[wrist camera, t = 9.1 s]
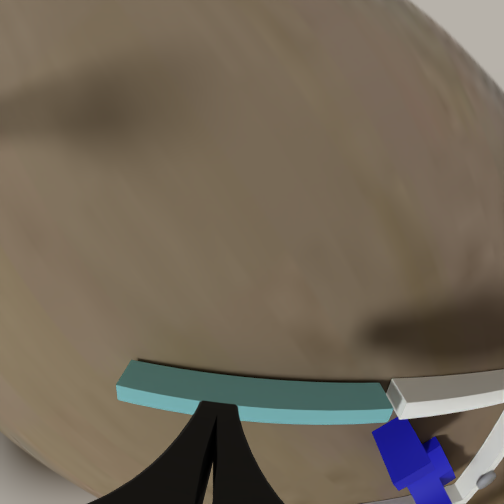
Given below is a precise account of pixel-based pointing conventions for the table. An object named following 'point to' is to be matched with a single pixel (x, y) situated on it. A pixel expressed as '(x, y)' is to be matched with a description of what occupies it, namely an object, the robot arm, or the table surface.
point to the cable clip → (414, 462)
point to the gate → (254, 396)
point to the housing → (450, 401)
